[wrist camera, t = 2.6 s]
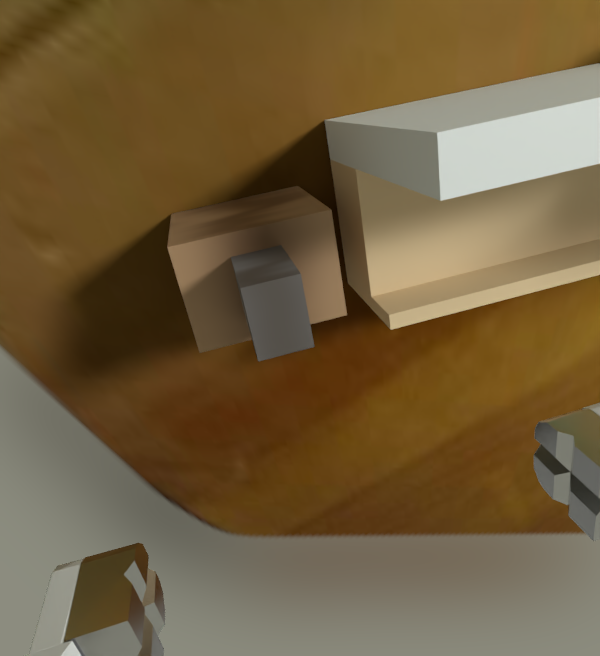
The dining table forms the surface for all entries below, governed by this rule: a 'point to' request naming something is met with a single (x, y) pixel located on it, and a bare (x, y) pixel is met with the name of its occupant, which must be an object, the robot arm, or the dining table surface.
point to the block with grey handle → (258, 270)
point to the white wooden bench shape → (470, 195)
